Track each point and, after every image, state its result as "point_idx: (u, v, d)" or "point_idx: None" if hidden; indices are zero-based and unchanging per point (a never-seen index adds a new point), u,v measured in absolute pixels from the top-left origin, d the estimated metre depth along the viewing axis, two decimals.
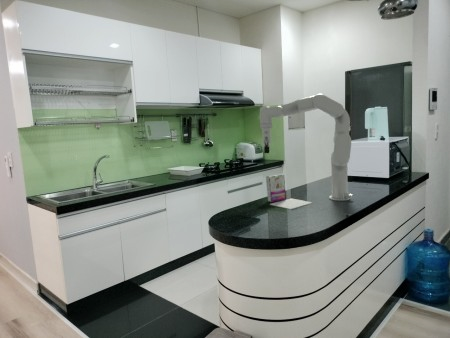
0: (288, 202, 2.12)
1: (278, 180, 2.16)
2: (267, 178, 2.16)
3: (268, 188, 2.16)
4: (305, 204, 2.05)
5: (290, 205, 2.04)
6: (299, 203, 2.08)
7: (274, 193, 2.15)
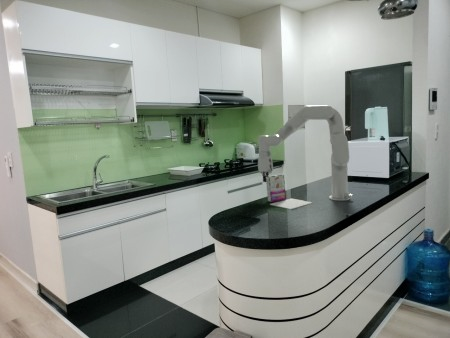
0: (288, 202, 2.12)
1: (278, 180, 2.16)
2: (267, 178, 2.16)
3: (268, 188, 2.16)
4: (305, 204, 2.05)
5: (290, 205, 2.04)
6: (299, 203, 2.08)
7: (274, 193, 2.15)
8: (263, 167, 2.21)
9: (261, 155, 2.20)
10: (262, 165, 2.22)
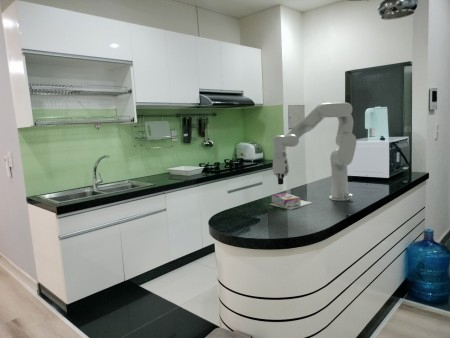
0: None
1: None
2: (283, 203, 2.00)
3: (278, 201, 2.06)
4: (305, 204, 2.05)
5: None
6: None
7: None
8: (278, 169, 2.11)
9: (276, 156, 2.09)
10: (277, 167, 2.11)
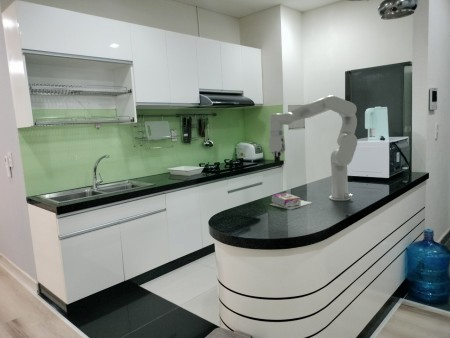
0: None
1: None
2: (283, 203, 2.00)
3: (278, 201, 2.06)
4: (305, 204, 2.05)
5: None
6: None
7: None
8: (275, 147, 2.11)
9: (273, 134, 2.09)
10: (274, 145, 2.12)
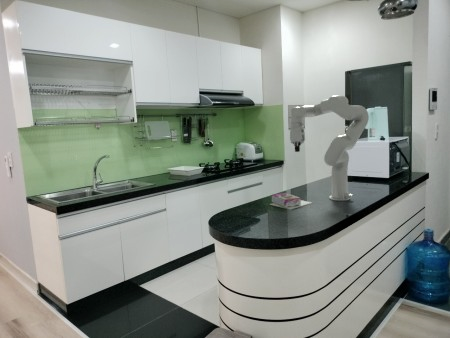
0: None
1: None
2: (283, 203, 2.00)
3: (278, 201, 2.06)
4: (305, 204, 2.05)
5: None
6: None
7: None
8: (295, 137, 2.32)
9: (294, 126, 2.31)
10: (294, 135, 2.33)
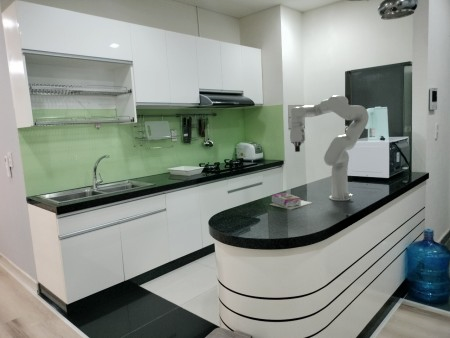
0: None
1: None
2: (283, 203, 2.00)
3: (278, 201, 2.06)
4: (305, 204, 2.05)
5: None
6: None
7: None
8: (295, 137, 2.33)
9: (294, 126, 2.31)
10: (294, 135, 2.33)
